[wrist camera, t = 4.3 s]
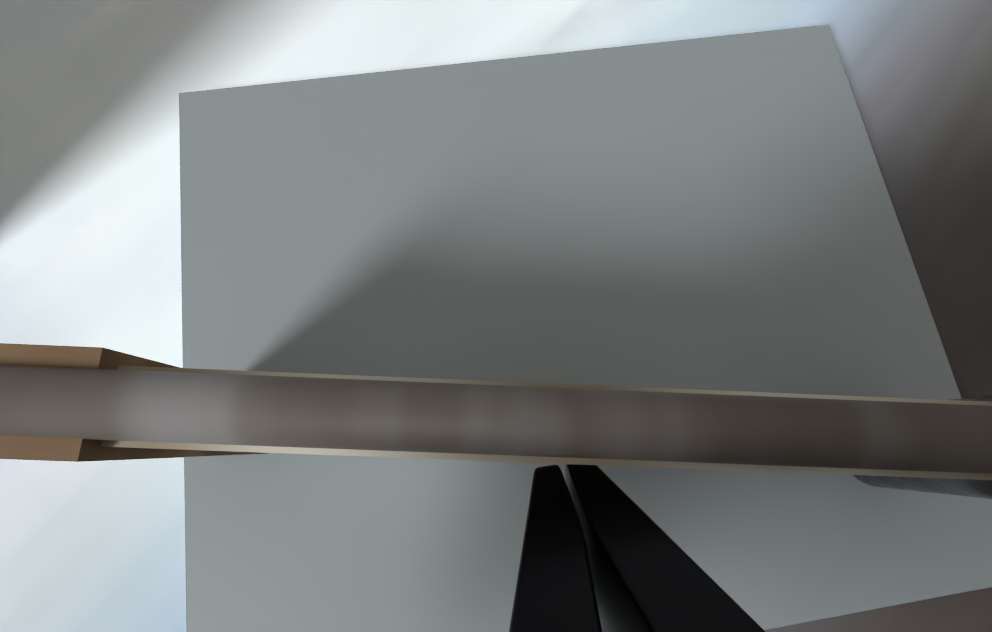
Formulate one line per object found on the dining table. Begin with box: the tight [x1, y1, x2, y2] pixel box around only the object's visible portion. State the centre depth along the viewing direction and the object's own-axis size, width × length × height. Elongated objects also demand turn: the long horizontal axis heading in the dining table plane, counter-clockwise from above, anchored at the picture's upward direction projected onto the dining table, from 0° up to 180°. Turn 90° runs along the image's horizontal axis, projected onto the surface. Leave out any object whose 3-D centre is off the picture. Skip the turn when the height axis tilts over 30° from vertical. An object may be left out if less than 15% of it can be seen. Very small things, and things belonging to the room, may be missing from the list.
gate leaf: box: [0, 343, 992, 480], centre depth 11 cm, size 17×2×7 cm, turn 88°
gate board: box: [179, 25, 992, 632], centre depth 12 cm, size 22×18×9 cm
